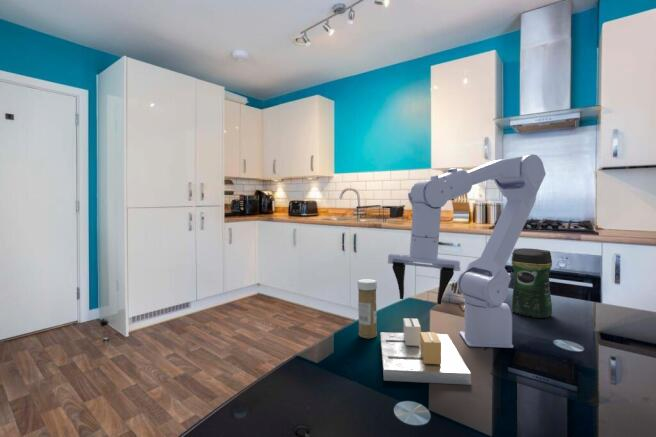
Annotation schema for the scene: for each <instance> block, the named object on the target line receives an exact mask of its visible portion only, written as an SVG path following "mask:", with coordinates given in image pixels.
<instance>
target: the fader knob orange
mask: <svg viewBox="0 0 656 437" xmlns="http://www.w3.org/2000/svg"><path fill="white" fill-rule="evenodd" d="M437 334H438V333H437V332H433V331H431V332H430V331H426V332H425V331H421V332H420V352H421V355H422V358H423V361H424V364H441V341H440V339H439V337H438V336H437Z"/></svg>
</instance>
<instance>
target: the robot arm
mask: <svg viewBox="0 0 656 437" xmlns="http://www.w3.org/2000/svg"><path fill="white" fill-rule="evenodd" d="M544 166H545V165H544V163H543V160H542V159H541V158H540V156H538V155H537V154H527V155H523V156H517V157H510V158H502V159H501V158H500V159H498V160H497V159H496V160H492V161H488V162H486V163H484V164H482V165H479V166H477V167H474V168H472V169H469V170H467V171H466V170H465V169H462V168H458V167H451V168H449V169H447V172H446V173H444V174H440V175H438V174H435V175H431V176H430V179H429V180H421V181H417V182H416V183H414V184H413V186H411V190H410V192H408V194H407V195H408V196H407V197H408V200H409V203H410V204H411V212H412V216H411V217H412V218H411V230H410V235H411V236H410V244H409V246H410V248H409V254H397V253H394V254H393V253H388V256H387V264H390V265H392V266H391V267H392V271H393V273H394V276H395V278H396V282H397V285H398V286H397V287H398V292H399V299H400V300H404V298H405V276H406V275H405V274H406V266H414V267H421V268H422V267H425V268H432V269H439V284H438V293H437V299H436V300H437V301H436V303H437V305H442V300H443V296H444V293H445V291H446V289H447V287H448V285H449V284H450V282H451V280H452V278H453V276H454V274H455V272H460V268H461V267H460V266H461V261H460V260H456V259H446V258H439V257H438V254H439V240H440V239H439V237H440V228H441V214H442V208H443V207H444V206H445V205H446V204H447V203H448V201H451V200H454V199H456V198H459V197H461V196H464V195H466V194H469V193H470V192H471V191H472V188H473V185H474V186H475V185H476V184H480V183H483V182H486V181H490V180H491V181H494V183H495V184H496V187H497V188H498V190H499V192H500V193H501V195H502V197H504V198H506V203H505V204H504V207H503V210H502V211H501V214H500V215H499V217H498V220H497V222H496V224H495V226H494V228H493V230H492V233H491V234H490V236H489V239H488V241H487V243H486V245H485V247H484V249H483V250H482V253H481V255H480V257H479V258H477V259H475V260H473V261H471V262H469V263H468V265H467V267H466V269H465V270H463V271H462V272H461V273H460V275H459V277H458V279H457V289H458V292H459V293H460V294H461V295H462V299H463V300H464V331H463V330H461V331H459V332H458V333H459V335H460V336H461V338H462V339H463V341H464V342H465V343H466V345H467V346H468V347H475V348H476V347H477V348H480V347H481V348H505V349H506V348H507V349H513V348H514V344H513V315H512V309H511V308H510V306H509V304H508V303H506V302H505V301H506V299H507V296H508V293H509V285H510V282H511V280H512V277H511V275H510V274H509V272H508V271H507V269H506V268H505V267H506V266H507V264H508V261H509V259H510V256H512V254H513V251H514V250H515V249H514V248H515V246H516V244H517V241H518V239H519V238H520V235H521V234H522V231H523V229H524V227H525V225H526V222H527V221H528V218H529V216H530V214H531V212H532V210H533V208H534V206H535V203H536V199H537V194H538V191H539V189H540V188H541V185H542V183H543V181H544V179H545V176H546V170H545V167H544Z"/></svg>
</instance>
